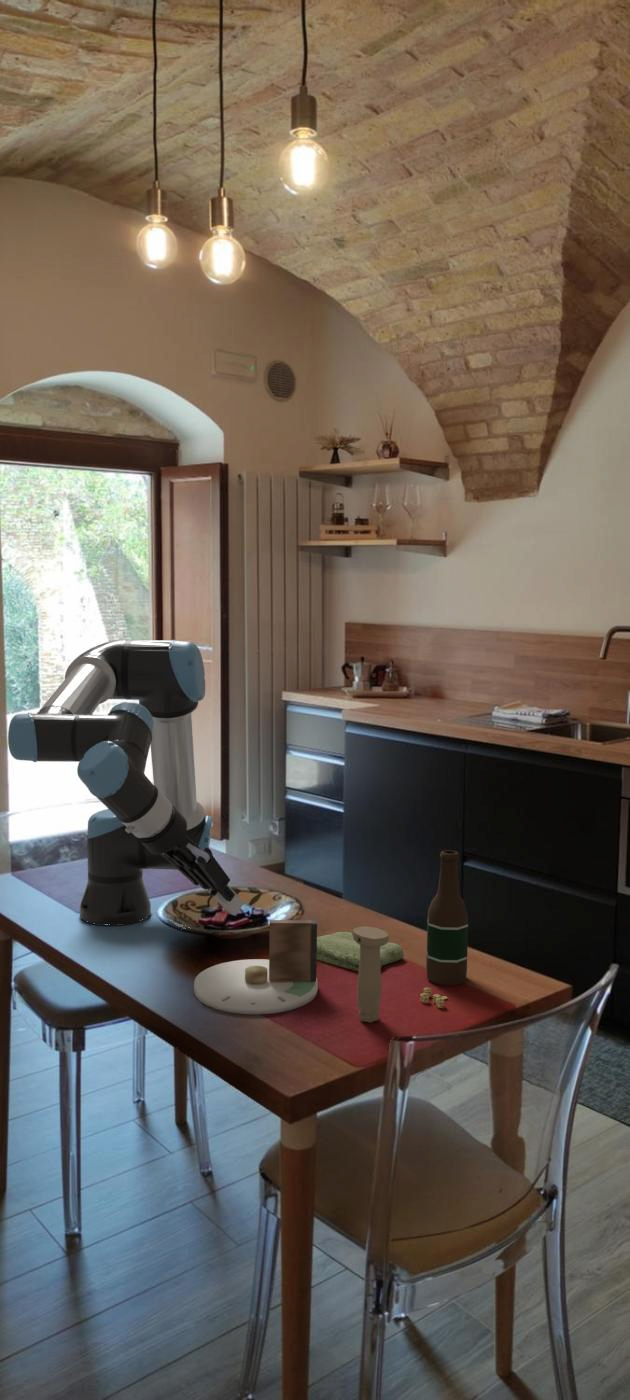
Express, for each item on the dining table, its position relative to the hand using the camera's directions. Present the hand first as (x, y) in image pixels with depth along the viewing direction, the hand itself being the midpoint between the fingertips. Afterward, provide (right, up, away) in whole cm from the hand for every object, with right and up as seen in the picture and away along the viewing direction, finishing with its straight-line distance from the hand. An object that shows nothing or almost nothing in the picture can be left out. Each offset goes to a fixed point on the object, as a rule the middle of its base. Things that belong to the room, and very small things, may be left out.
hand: (236, 908), depth 177 cm
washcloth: (+20, -16, +29) cm, 39 cm away
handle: (+22, -19, -1) cm, 29 cm away
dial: (+3, -17, +11) cm, 20 cm away
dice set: (+34, -19, +7) cm, 39 cm away
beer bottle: (+37, -17, +18) cm, 45 cm away
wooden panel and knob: (+7, -15, +11) cm, 20 cm away
